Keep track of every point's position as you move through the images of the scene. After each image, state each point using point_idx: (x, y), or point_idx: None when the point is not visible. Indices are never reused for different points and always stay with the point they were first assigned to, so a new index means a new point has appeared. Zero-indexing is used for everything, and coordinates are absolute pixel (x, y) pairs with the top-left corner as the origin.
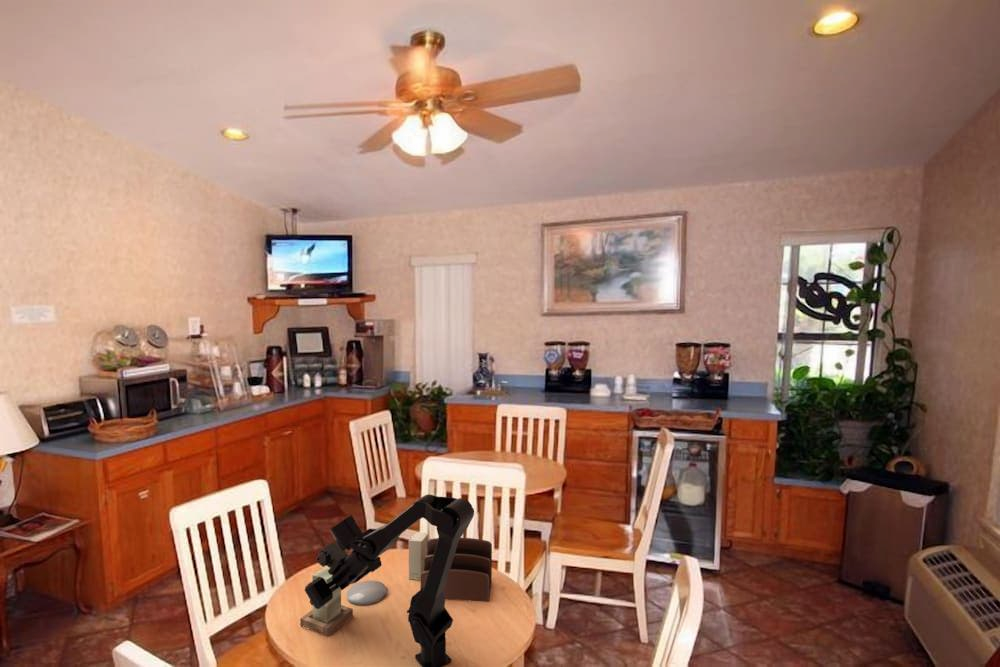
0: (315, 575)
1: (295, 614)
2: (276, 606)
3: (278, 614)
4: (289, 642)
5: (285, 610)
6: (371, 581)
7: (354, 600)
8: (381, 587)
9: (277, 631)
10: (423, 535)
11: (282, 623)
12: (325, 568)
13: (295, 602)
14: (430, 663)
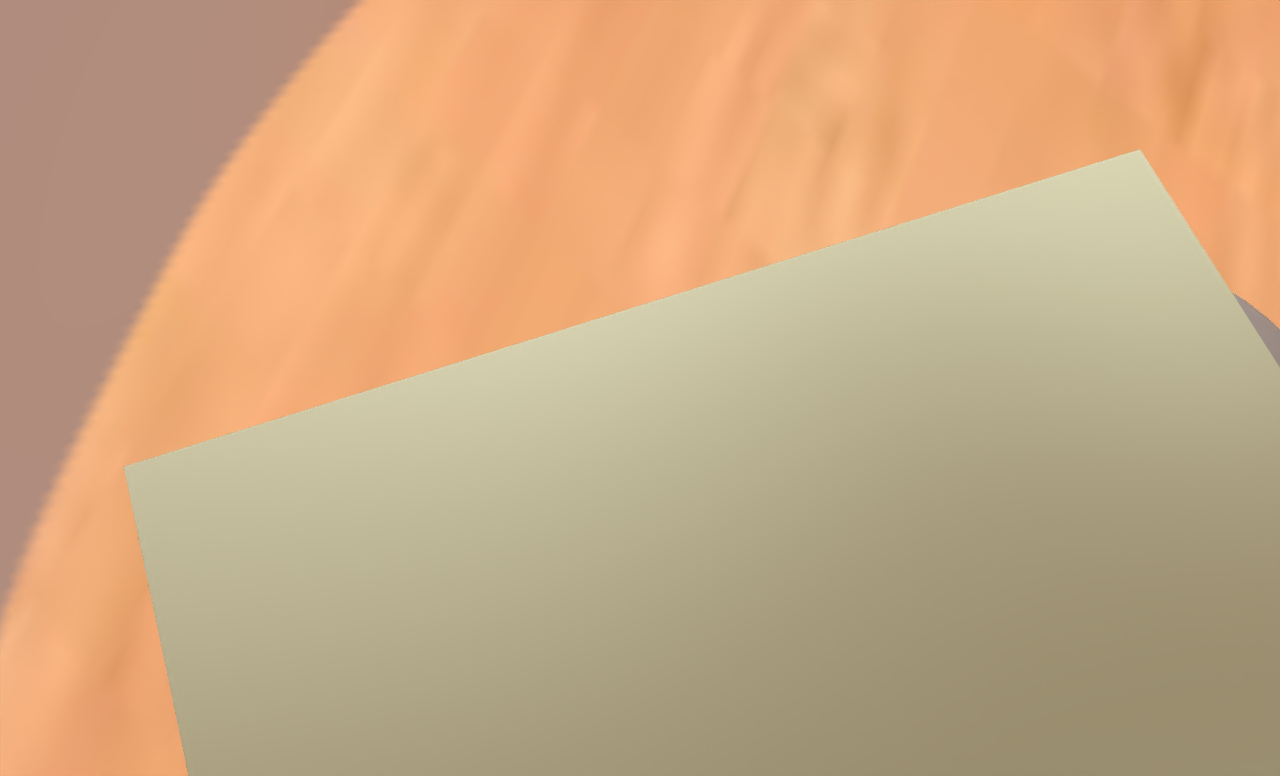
0: (233, 671)
1: (416, 276)
2: (345, 31)
3: (289, 158)
4: (75, 754)
5: (376, 146)
6: (1258, 331)
7: None
8: None
9: (109, 430)
10: None
11: (232, 329)
12: (1036, 298)
13: (514, 96)
14: None
